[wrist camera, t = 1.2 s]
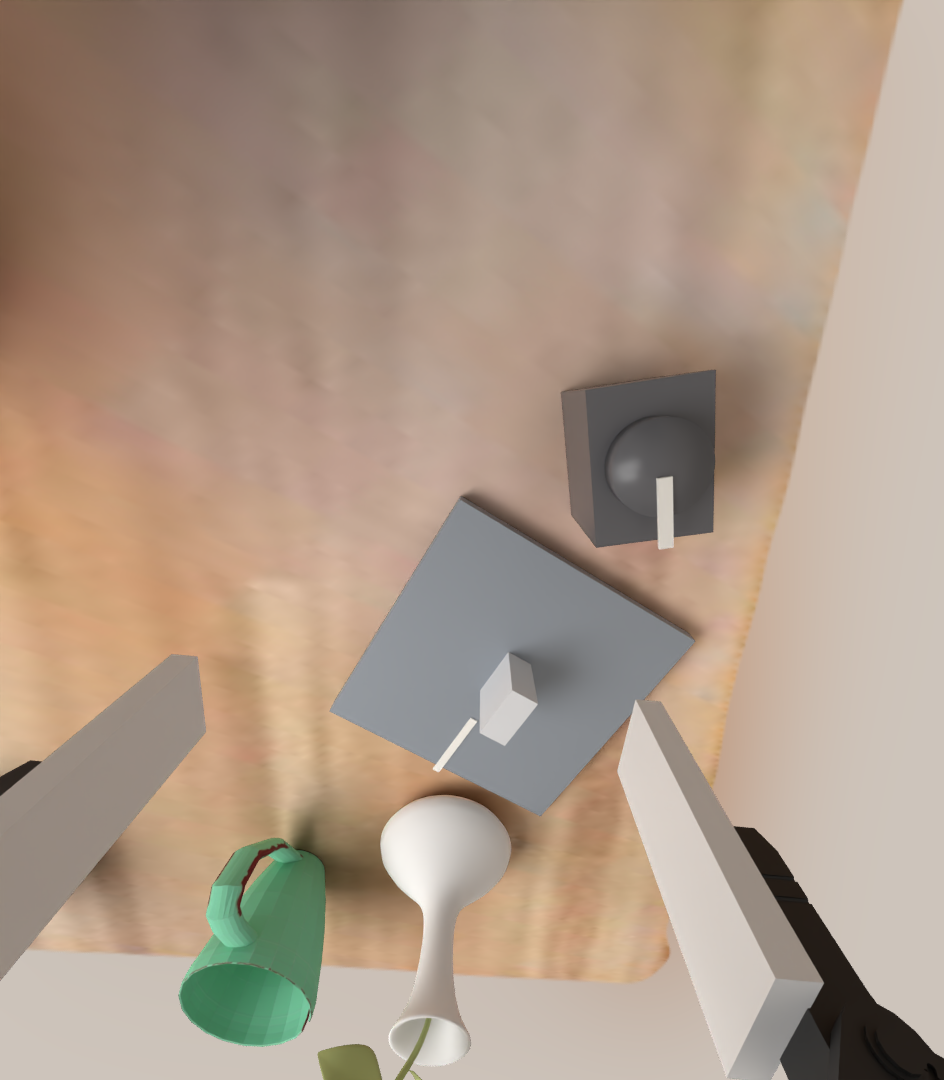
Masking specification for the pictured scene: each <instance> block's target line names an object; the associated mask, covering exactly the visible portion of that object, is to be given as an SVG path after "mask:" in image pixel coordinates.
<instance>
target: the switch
mask: <svg viewBox="0 0 944 1080" xmlns="http://www.w3.org/2000/svg"><path fill="white" fill-rule="evenodd" d="M694 642H695V640H694V639H693V638H692V637H691V636H690V634H689V633H688V632H686V631H684V630H683V629H681V628H679V627H678V626H676V625H674V624H673V623H671V622H669V621H668V620H666V619H664V618H663V617H661V616H659V615H658V614H656V613H654V612H653V611H651V610H649V609H648V608H646V607H644V606H643V605H641V604H639V603H638V602H636V601H635V600H633V599H631V598H630V597H628V596H626V595H625V594H623V593H621V592H620V591H618V590H616V589H615V588H613V587H611V586H610V585H608V584H606V583H605V582H603V581H601V580H600V579H598V578H596V577H595V576H593V575H591V574H590V573H588V572H586V571H585V570H583V569H581V568H580V567H578V566H576V565H575V564H573V563H572V562H570V561H568V560H567V559H565V558H563V557H562V556H560V555H558V554H557V553H555V552H553V551H552V550H550V549H548V548H547V547H545V546H543V545H542V544H540V543H538V542H537V541H535V540H533V539H532V538H530V537H528V536H527V535H525V534H523V533H522V532H520V531H518V530H517V529H515V528H513V527H512V526H510V525H508V524H507V523H505V522H504V521H502V520H500V519H499V518H497V517H495V516H494V515H492V514H490V513H489V512H487V511H485V510H484V509H482V508H480V507H479V506H477V505H475V504H474V503H472V502H470V501H469V500H467V499H465V498H464V497H462V496H460V498H459V499H458V501H457V503H456V504H455V506H454V507H453V509H452V511H451V512H450V514H449V516H448V517H447V519H446V520H445V522H444V524H443V525H442V527H441V529H440V530H439V532H438V533H437V535H436V537H435V538H434V540H433V542H432V543H431V545H430V546H429V548H428V550H427V551H426V553H425V555H424V556H423V558H422V559H421V561H420V563H419V564H418V566H417V568H416V569H415V571H414V572H413V574H412V576H411V577H410V579H409V581H408V582H407V584H406V585H405V587H404V589H403V590H402V592H401V594H400V595H399V597H398V598H397V600H396V602H395V603H394V605H393V607H392V608H391V610H390V611H389V613H388V615H387V616H386V618H385V620H384V621H383V623H382V624H381V626H380V628H379V629H378V631H377V633H376V634H375V636H374V637H373V639H372V641H371V642H370V644H369V646H368V647H367V649H366V650H365V652H364V654H363V655H362V657H361V659H360V660H359V662H358V664H357V665H356V667H355V668H354V670H353V672H352V673H351V675H350V677H349V678H348V680H347V681H346V683H345V685H344V686H343V688H342V690H341V691H340V693H339V694H338V696H337V698H336V699H335V701H334V703H333V705H332V707H331V709H330V712H332V713H334V714H336V715H338V716H340V717H342V718H344V719H346V720H348V721H350V722H352V723H354V724H356V725H358V726H360V727H362V728H364V729H366V730H368V731H370V732H372V733H374V734H376V735H378V736H380V737H382V738H384V739H386V740H388V741H390V742H392V743H394V744H396V745H398V746H400V747H402V748H404V749H406V750H408V751H410V752H412V753H414V754H416V755H418V756H420V757H422V758H424V759H426V760H428V761H430V762H432V763H434V764H436V765H435V766H434V767H433V770H435V771H437V772H440V770H441V769H442V768H444V769H446V770H448V771H450V772H452V773H454V774H456V775H459V776H461V777H463V778H465V779H467V780H469V781H471V782H473V783H475V784H477V785H479V786H481V787H483V788H485V789H487V790H489V791H491V792H493V793H495V794H497V795H499V796H501V797H503V798H505V799H507V800H509V801H511V802H513V803H515V804H517V805H519V806H521V807H523V808H525V809H527V810H529V811H531V812H533V813H535V814H537V815H539V816H541V815H542V814H543V813H544V812H545V811H546V810H547V808H548V807H549V806H550V805H551V804H552V803H553V802H554V800H555V799H556V798H557V797H558V796H559V795H560V794H561V793H562V791H563V790H564V789H565V788H566V787H567V786H568V785H569V784H570V782H571V781H572V780H573V779H574V778H575V777H576V776H577V775H578V773H579V772H580V771H581V770H582V769H583V768H584V767H585V765H586V764H587V763H588V762H589V761H590V760H591V759H592V758H593V756H594V755H595V754H596V753H597V752H598V751H599V750H600V749H601V747H602V746H603V745H604V744H605V743H606V742H607V741H608V739H609V738H610V737H611V736H612V735H613V734H614V733H615V732H616V730H617V729H618V728H619V727H620V726H621V725H622V724H623V723H624V721H625V720H626V719H627V718H628V717H629V716H630V715H631V714H632V712H633V708H634V704H635V700H636V699H638V700H644V699H645V698H646V697H647V695H648V694H649V693H650V692H651V691H652V690H653V689H654V688H655V686H656V685H657V684H658V683H659V682H660V681H661V680H662V678H663V677H664V676H665V675H666V674H667V673H668V672H669V671H670V669H671V668H672V667H673V666H674V665H675V664H676V663H677V662H678V660H679V659H680V658H681V657H682V656H683V655H684V654H685V653H686V651H687V650H688V649H689V648H690V647H691V646H692V645H693V643H694Z"/></svg>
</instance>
